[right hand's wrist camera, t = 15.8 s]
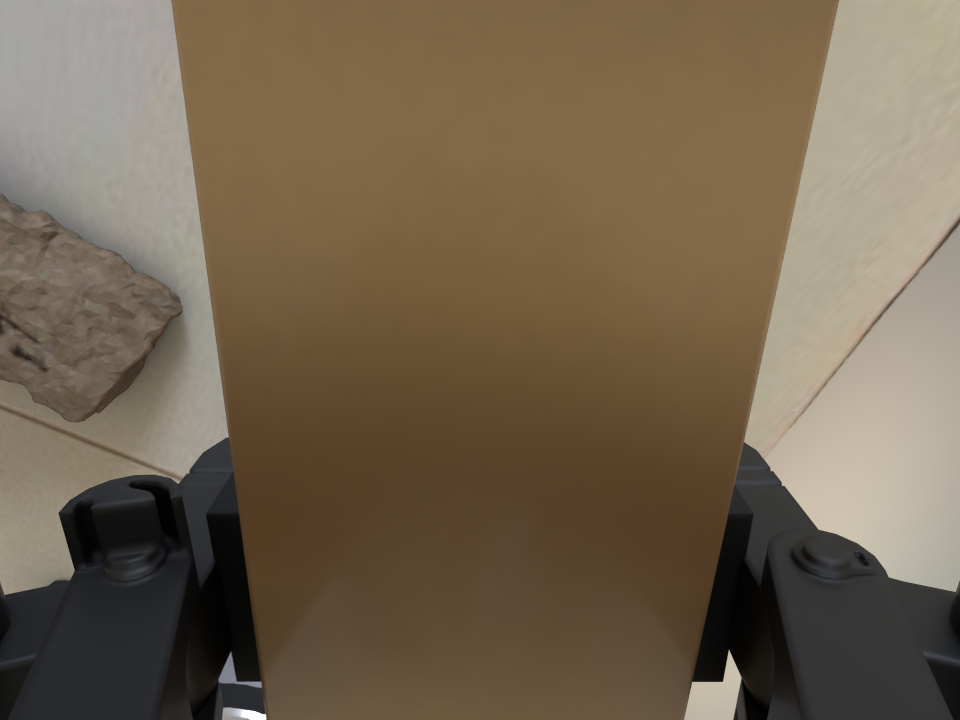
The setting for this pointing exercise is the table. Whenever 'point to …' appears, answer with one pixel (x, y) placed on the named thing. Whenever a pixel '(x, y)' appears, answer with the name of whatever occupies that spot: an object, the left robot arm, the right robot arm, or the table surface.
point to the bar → (491, 332)
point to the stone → (73, 315)
